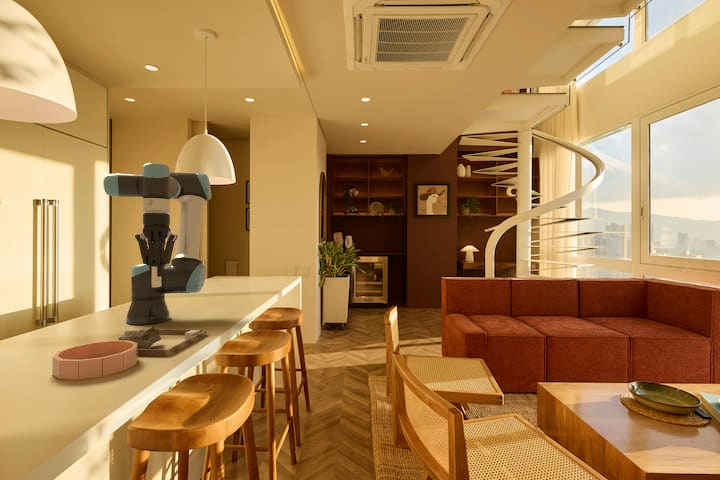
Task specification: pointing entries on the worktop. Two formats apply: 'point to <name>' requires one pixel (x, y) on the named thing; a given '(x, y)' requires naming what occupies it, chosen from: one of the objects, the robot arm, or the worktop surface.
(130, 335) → the rock
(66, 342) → the worktop surface
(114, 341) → the bowl
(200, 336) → the tray
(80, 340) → the worktop surface
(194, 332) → the beige rectangular block
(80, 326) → the worktop surface
